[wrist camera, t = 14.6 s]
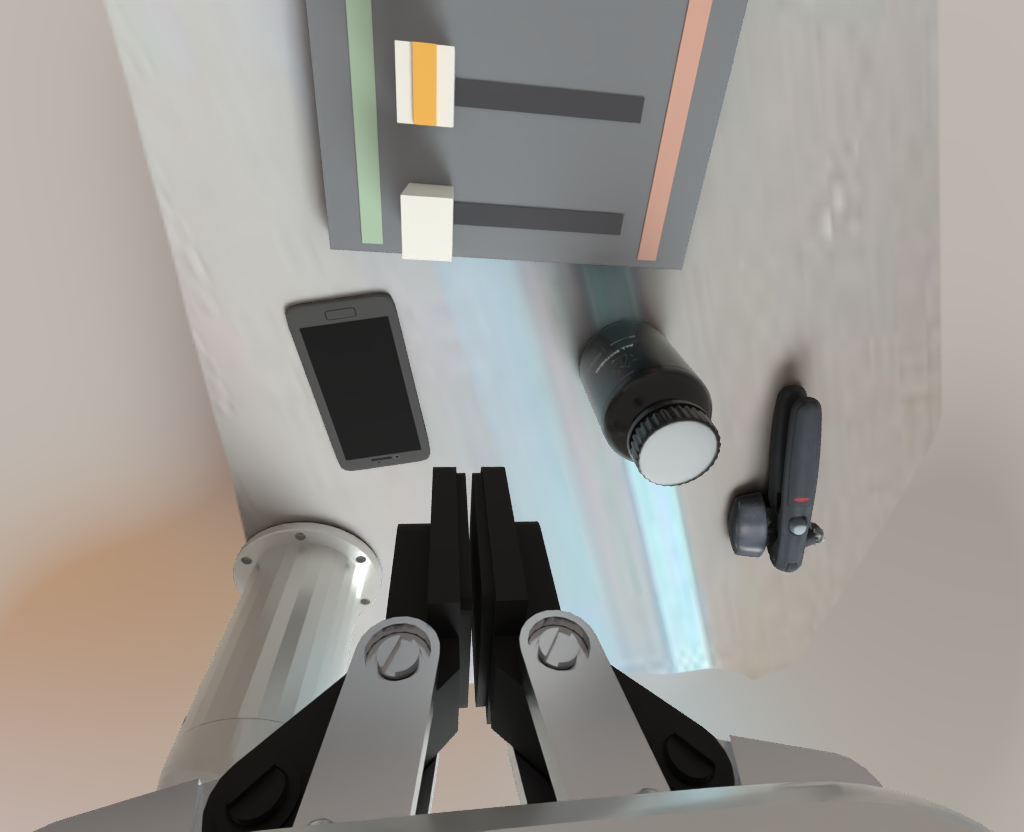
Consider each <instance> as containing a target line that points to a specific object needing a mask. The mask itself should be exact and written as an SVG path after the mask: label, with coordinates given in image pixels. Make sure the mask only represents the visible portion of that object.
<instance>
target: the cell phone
mask: <svg viewBox="0 0 1024 832" xmlns="http://www.w3.org/2000/svg"><path fill="white" fill-rule="evenodd" d="M286 318H287V322H288V326H289V329H290V332H291V335H292V337H293V340H294V343H295V345H296V348H297V351H298V354H299V356H300V359H301V362H302V364H303V367H304V370H305V373H306V375H307V378H308V381H309V384H310V386H311V389H312V392H313V394H314V397H315V400H316V403H317V405H318V408H319V411H320V414H321V416H322V419H323V422H324V424H325V427H326V430H327V433H328V435H329V438H330V441H331V443H332V446H333V449H334V452H335V454H336V457H337V459H338V462H339V464H340V466H341V468H343V469H344V470H348V471H355V470H362V469H369V468H376V467H383V466H390V465H397V464H404V463H411V462H418V461H422V460H425V459H427V458H428V457H429V455H430V447H429V441H428V437H427V433H426V429H425V425H424V420H423V416H422V412H421V408H420V404H419V400H418V396H417V392H416V388H415V384H414V380H413V375H412V371H411V367H410V363H409V359H408V355H407V351H406V347H405V343H404V339H403V335H402V331H401V326H400V322H399V318H398V314H397V310H396V307H395V304H394V301H393V299H392V297H391V296H390V295H389V294H386V293H372V294H365V295H358V296H351V297H344V298H337V299H330V300H322V301H315V302H308V303H301V304H296V305H293V306H290V307H289V308H288V309H287V311H286Z"/></svg>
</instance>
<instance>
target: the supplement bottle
mask: <svg viewBox="0 0 1024 832" xmlns="http://www.w3.org/2000/svg"><path fill="white" fill-rule="evenodd" d="M579 372H580V377H581V381H582V384H583V386H584V389H585V391H586V394H587V396H588V398H589V401H590V403H591V406H592V408H593V410H594V413H595V415H596V418H597V420H598V422H599V425H600V427H601V429H602V432H603V434H604V436H605V438H606V440H607V442H608V444H609V445H610V447H611V448H612V449H613V450H614V451H615V452H616V453H617V454H618V455H620V456H621V457H623V458H625V459H627V460H629V461H632V462H635V464H636V466H637V468H638V470H639V472H640V473H641V474H642V475H643V476H644V478H646V479H648V480H649V481H650V482H654V483H655V484H657V485H663V486H674V485H681V484H683V483H688V482H690V481H692V480H695V479H696V478H698V477H700V476H702V475H703V474H704V473H705V472H706V471H708V470H709V468H710V467H711V466H712V465H713V464H714V461H715V460H716V459H717V457H718V454H719V452H720V449H719V448H720V446H721V443H720V436H719V434H718V430H717V429H716V427H715V426H714V425H713V423H712V422H711V417H712V400H711V397H710V394H709V391H708V389H707V388H706V386H705V385H704V383H703V382H702V381H701V379H700V378H699V377H698V376H697V375H696V373H695V372H694V371H693V370H692V369H691V368H690V366H689V365H688V364H687V363H686V362H685V361H684V359H683V358H682V357H681V356H680V355H679V354H678V352H677V351H676V350H675V349H674V348H673V347H672V345H671V344H670V343H669V342H668V341H667V340H666V338H665V337H664V336H663V335H662V334H661V333H660V332H659V331H658V330H656V329H655V328H654V327H652V326H650V325H648V324H646V323H643V322H639V321H622V322H617V323H614V324H611V325H609V326H607V327H605V328H603V329H602V330H600V331H599V332H598V333H596V334H595V335H594V336H593V337H592V338H591V339H590V340H589V342H588V343H587V345H586V346H585V348H584V350H583V352H582V355H581V359H580V364H579Z"/></svg>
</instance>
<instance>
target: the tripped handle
mask: <svg viewBox="0 0 1024 832" xmlns="http://www.w3.org/2000/svg"><path fill="white" fill-rule="evenodd" d="M395 70H396V102H397V123H407V124H417V125H428V126H441V127H452V128H453V127H454V103H455V47H454V46H445V45H437V44H431V43H422V42H413V41H412V42H407V41H398V40H395Z"/></svg>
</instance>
